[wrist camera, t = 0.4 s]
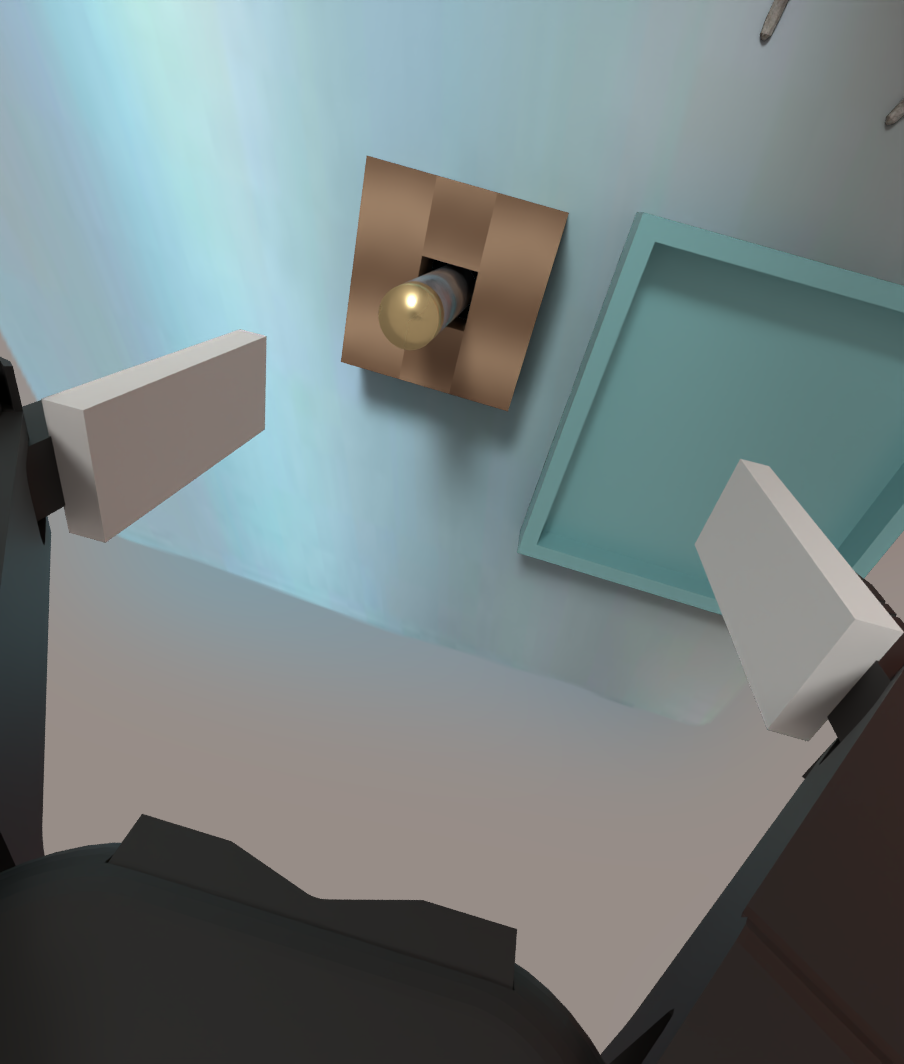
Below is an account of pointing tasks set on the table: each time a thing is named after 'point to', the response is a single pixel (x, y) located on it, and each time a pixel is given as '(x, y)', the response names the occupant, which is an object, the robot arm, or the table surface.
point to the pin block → (460, 239)
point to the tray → (723, 409)
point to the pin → (425, 306)
